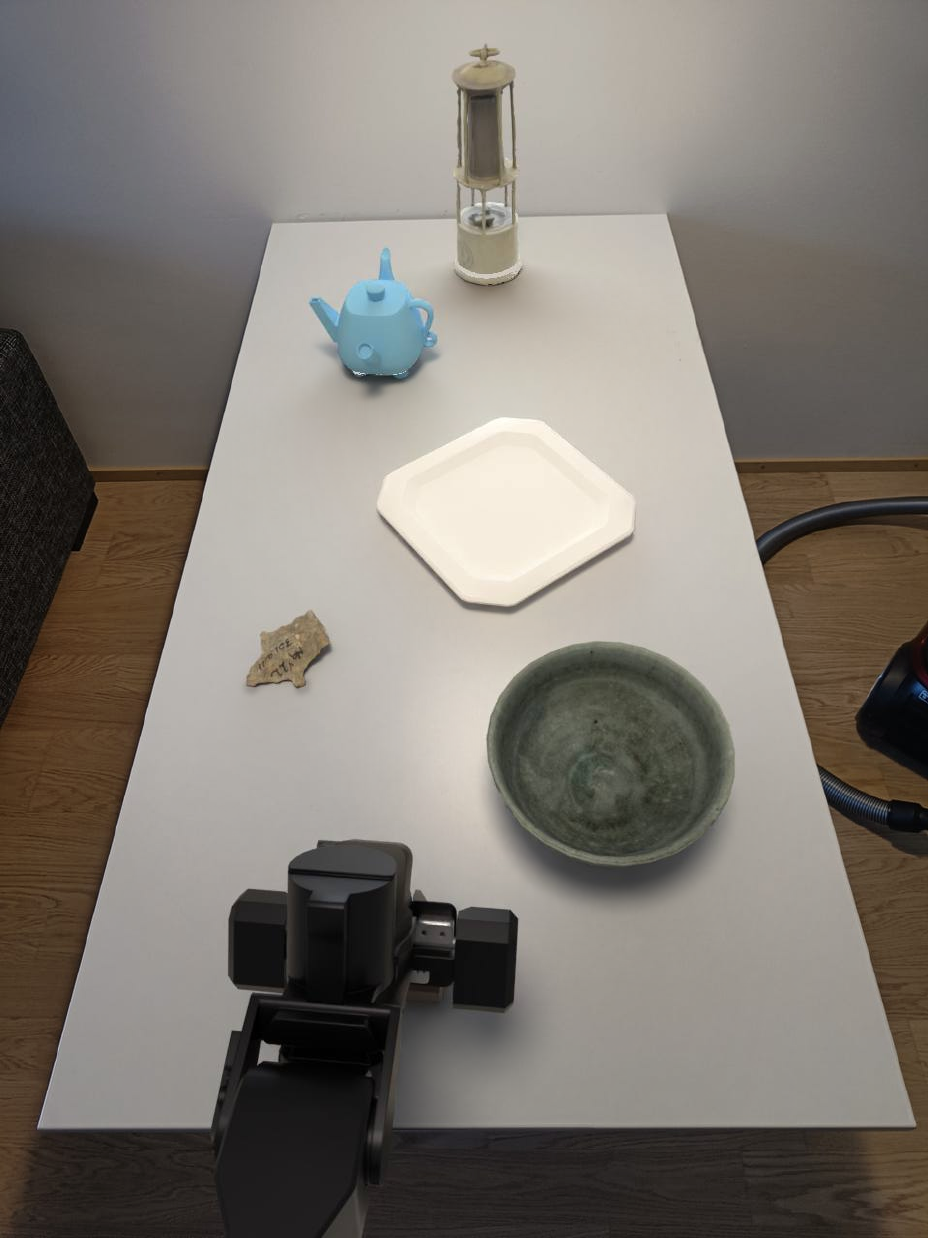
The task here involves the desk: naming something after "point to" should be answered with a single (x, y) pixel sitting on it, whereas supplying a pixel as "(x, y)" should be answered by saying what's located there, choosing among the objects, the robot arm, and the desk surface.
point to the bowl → (611, 753)
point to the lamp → (485, 170)
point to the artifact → (289, 651)
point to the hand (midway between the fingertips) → (394, 894)
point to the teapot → (378, 325)
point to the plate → (506, 510)
